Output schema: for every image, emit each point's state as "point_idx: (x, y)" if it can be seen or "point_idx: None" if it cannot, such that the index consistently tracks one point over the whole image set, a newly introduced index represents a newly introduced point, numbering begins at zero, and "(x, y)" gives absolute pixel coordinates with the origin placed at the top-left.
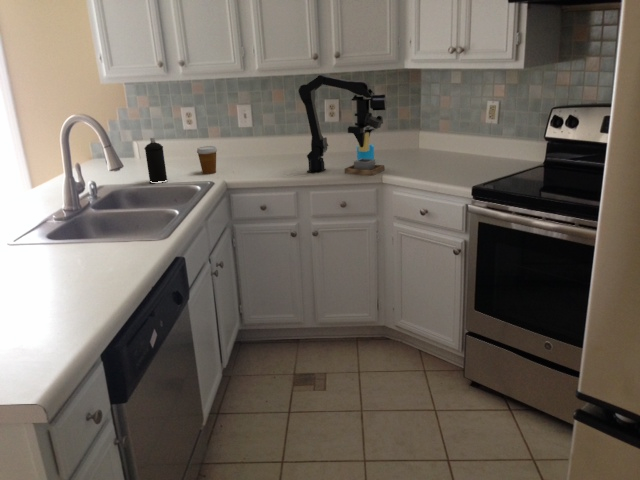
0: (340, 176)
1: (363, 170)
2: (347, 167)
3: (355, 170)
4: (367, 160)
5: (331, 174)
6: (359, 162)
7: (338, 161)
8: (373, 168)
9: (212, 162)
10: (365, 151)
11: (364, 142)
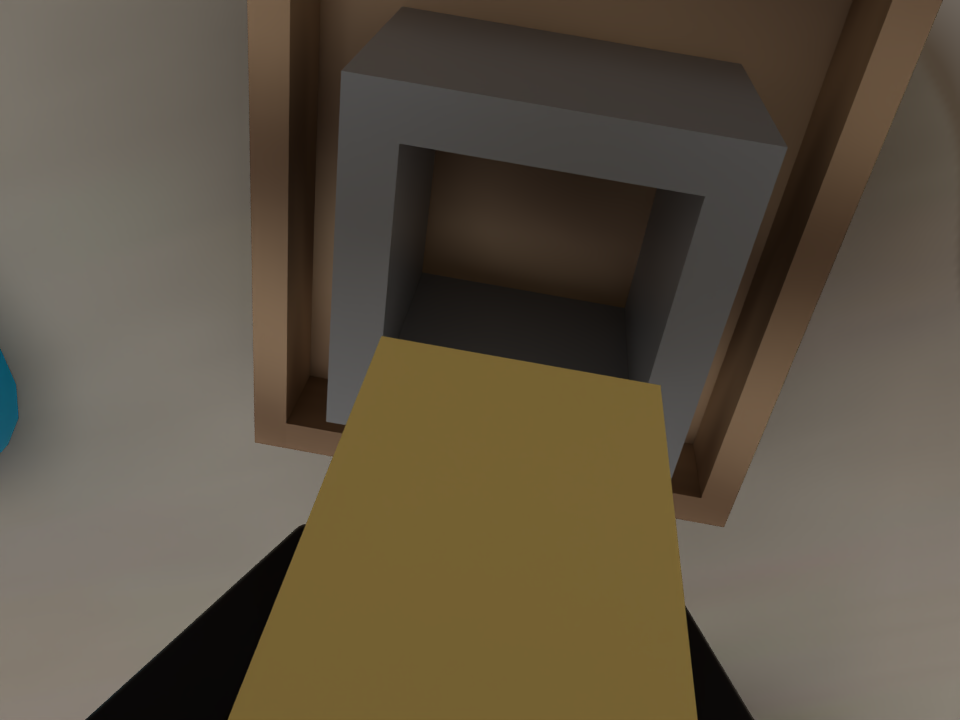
0: (891, 476)
1: (875, 158)
2: None
3: (797, 329)
4: (395, 253)
5: (752, 605)
6: (712, 358)
7: (12, 675)
8: (471, 31)
9: None
10: (657, 397)
11: (670, 700)
